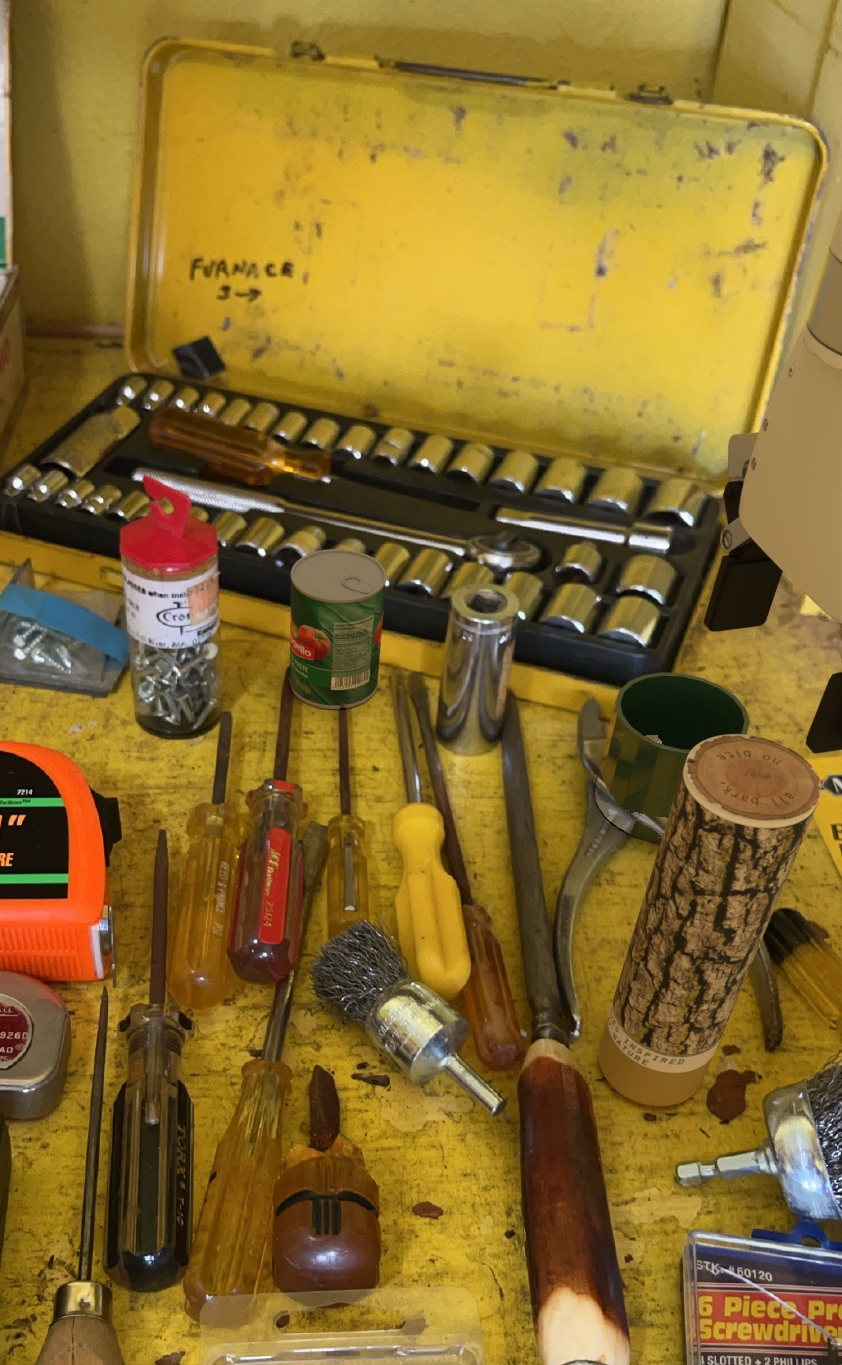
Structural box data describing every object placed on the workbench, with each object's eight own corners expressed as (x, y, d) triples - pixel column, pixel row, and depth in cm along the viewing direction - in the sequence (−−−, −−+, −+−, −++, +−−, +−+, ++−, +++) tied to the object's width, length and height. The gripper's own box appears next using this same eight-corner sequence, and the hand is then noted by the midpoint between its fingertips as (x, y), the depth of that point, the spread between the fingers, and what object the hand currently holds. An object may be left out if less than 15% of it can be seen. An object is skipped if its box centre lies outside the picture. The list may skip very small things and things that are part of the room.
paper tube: (695, 1125, 79) (818, 834, 61) (587, 1094, 80) (677, 802, 62) (707, 1043, 83) (824, 750, 65) (604, 1016, 85) (693, 722, 67)
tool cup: (684, 754, 104) (711, 665, 98) (741, 832, 98) (773, 742, 91) (574, 771, 103) (595, 681, 96) (625, 852, 96) (650, 761, 90)
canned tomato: (270, 683, 110) (270, 573, 103) (329, 645, 114) (333, 537, 107) (338, 722, 107) (343, 611, 99) (396, 682, 111) (406, 572, 103)
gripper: (1162, 402, 42) (961, 787, 54) (875, 230, 54) (763, 578, 66) (969, 421, 41) (807, 813, 53) (718, 240, 53) (632, 594, 65)
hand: (782, 682), depth 60 cm, fingers open, 9 cm apart
